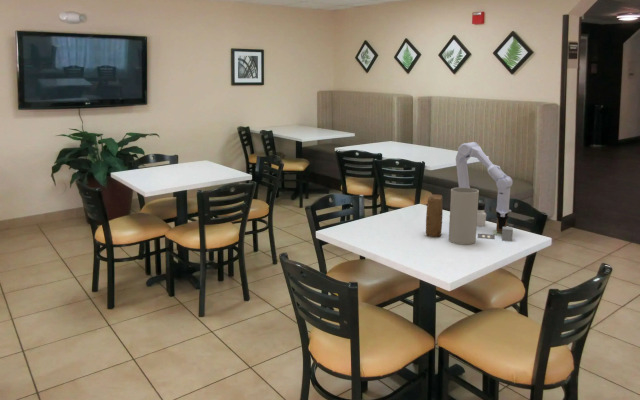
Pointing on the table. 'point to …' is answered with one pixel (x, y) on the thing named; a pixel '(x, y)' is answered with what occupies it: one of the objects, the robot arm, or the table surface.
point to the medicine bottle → (481, 214)
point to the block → (434, 215)
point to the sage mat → (496, 232)
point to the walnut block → (498, 226)
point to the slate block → (507, 233)
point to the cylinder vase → (463, 215)
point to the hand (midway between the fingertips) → (501, 227)
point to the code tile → (486, 236)
